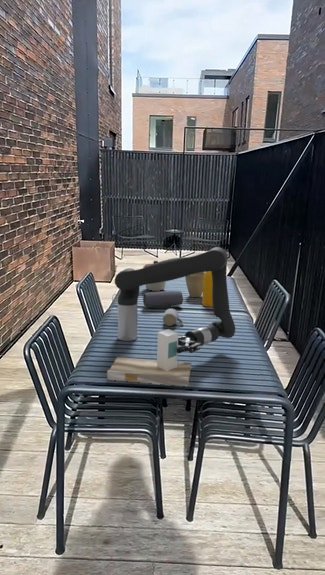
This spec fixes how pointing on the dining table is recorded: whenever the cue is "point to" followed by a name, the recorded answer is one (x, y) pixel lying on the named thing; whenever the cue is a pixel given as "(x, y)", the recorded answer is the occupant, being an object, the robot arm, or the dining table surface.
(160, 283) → the canister
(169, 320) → the ceramic mug
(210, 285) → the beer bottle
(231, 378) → the dining table surface
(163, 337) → the carton
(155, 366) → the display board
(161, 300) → the bluetooth speaker
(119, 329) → the robot arm
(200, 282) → the plant pot
